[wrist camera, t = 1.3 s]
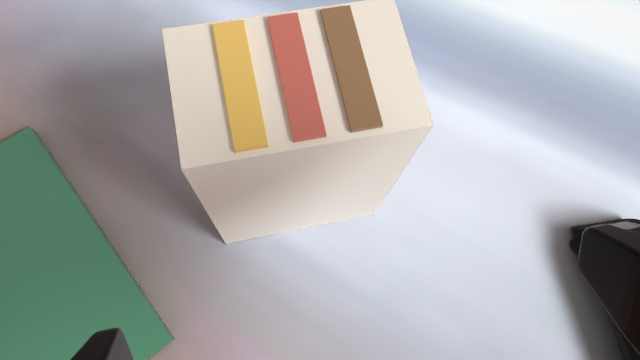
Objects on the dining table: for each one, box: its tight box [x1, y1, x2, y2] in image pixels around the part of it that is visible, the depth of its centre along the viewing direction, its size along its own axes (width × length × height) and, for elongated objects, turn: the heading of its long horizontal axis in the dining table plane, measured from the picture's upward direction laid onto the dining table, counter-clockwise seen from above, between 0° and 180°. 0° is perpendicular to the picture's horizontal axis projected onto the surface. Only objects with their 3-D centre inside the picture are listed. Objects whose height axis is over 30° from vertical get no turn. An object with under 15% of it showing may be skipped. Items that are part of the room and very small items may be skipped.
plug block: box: [162, 0, 433, 244], centre depth 19 cm, size 4×7×10 cm, turn 102°
